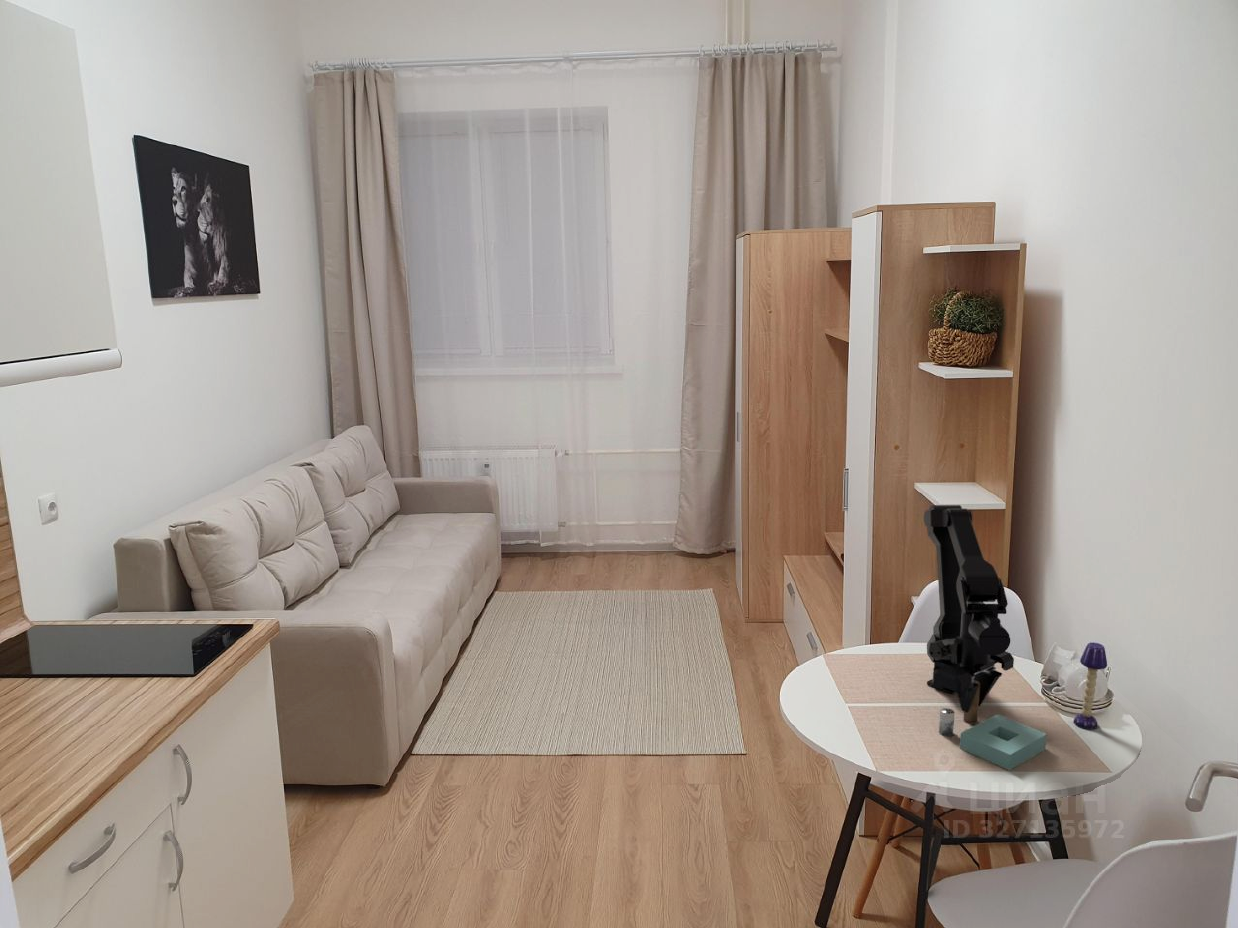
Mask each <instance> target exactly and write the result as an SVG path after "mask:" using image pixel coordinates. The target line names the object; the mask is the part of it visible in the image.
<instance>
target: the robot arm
mask: <svg viewBox="0 0 1238 928" xmlns="http://www.w3.org/2000/svg"><path fill="white" fill-rule="evenodd" d="M972 515H973V514H972V510H971V509H968V508H962V505H961V504H930V506H929V508H928V509H926V510H924V514H923V522H924V526H925V527H926V531H927V532H926V533H927V535H928V537H929V539H930V540H931V542H932V543H933V544H934V546H935V548H936V549H935V552H936V564H937V581H938V596H939V599H938V600H939V611H940V612H939V614H940V615H938V616H939V617H938V618H937V620H936V622H934V623H935V624H933V628H932V629H933V631H932V634H931V636H930V638H929V640H928V642H927V644H926V654H927V656H928V658H929V660H930V661H931V662H932V663H934V664H933V669H932V670H933V672H932V679H930V680H927V681H926V684H927V685H928V686H931V687H933V688H935V689H937V690H941V691H943V692H945V693H948V694H951V695H954V694H956V695H957V699H958V703H959V705H960V708H961V711H962V712H963V713H964V712H966V713H967V712H968V711H969V709H970V707H971V704H972V702H973V699H974V697H975V694H976V692H977V690H978V687H979V685H978V684H976V683H974V680H975V681H978V682H979V683H980V692H979V707H981V706H982V705H983V704H984V701H985V700H986V698H987V696H988V695H989V693H990V692H991V690H992V688H993V687H994V685H996V683H997V681H998V680H999V679H1000V678H1001V677H1002V675H1003V673H1002V672H1000V671H998V670H997V668H996V666H995V665H996V664H1001V666H1000V667H1001V669H1002V670H1003V671H1008V670H1010V669H1014V661H1015V658H1014V657H1013V655H1012V654H1011V653H1010V652H1008V651H1007V650H1008V648H1009V647H1010V644H1011V637H1010V634H1009V631H1008V630H1007V629H1006V628H1005V626H1003V625H1002V624H1001V619H1000V618H999V615H1006V614H1007V606H1008V599H1007V594H1006V590H1005V587H1004V584H1003V582H1002V579H1001V578H1000V577H999V575H998V573H997V571H996V569H995V567H994V565H992V564H991V563H989V562H988V561H987V560H985V558H984V556H983V551H982V550H981V546H980V542H979V540H978V538H977V535H976V532H975V528H974V526H973V525H974V524H973V523H972V522H973V516H972ZM995 602H997V603H995Z"/></svg>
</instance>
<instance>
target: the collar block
mask: <svg viewBox="0 0 1238 928" xmlns="http://www.w3.org/2000/svg"><path fill="white" fill-rule="evenodd" d="M959 735H960V736H959V737H960V738H959V749H961V750H963V751H966V752H968V753H971V754H972V755H974V756H977V757H979V758H981V759H983V760H986V761H987V762H990V763H993V764H994V765H997V766H999V767H1002V768H1003V769H1005V770H1008V771H1010V770H1011V769H1013V768H1015V767H1017V766H1018V765H1020V764H1023V763H1024V762H1026V761H1027V760H1029V759H1031V758H1033V757H1035V756H1036V755H1038V754H1039V753H1042V752H1043V751H1045V750H1046V748H1047V739H1048V738H1047V736H1048V734H1047V733H1045V732H1043V731H1039V730H1038V729H1035V728H1032V727H1030V726H1028V725H1025V724H1022V723H1020V722H1017V721H1015V720H1013V719H1010V718H1007V717H1005V716H1003V715H1001V714H996V715H993V716H991V717H990V718H987V719H986V720H983V721H982V722H979V723H978V724H976V725H974V726H972V727H970V728H968V729H966V730H964V731H962V732H961V733H960V734H959Z"/></svg>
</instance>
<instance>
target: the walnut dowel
mask: <svg viewBox="0 0 1238 928" xmlns="http://www.w3.org/2000/svg"><path fill="white" fill-rule="evenodd" d="M974 683H976V684H978V685H979V687H978V690H977V692H976V694H975V697H974V699H973V702H972V704H971V707H970V709H969V711H968V712H967V713H966V712H963V721H964V722H965V723H966V724H971V725H973V724H977V723H978V720H979V719H978V718H979V707H980V706H979V692H980V683H979V682H978V681H975V680H974Z"/></svg>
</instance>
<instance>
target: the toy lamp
mask: <svg viewBox="0 0 1238 928" xmlns="http://www.w3.org/2000/svg"><path fill="white" fill-rule="evenodd" d="M1079 662H1080V664H1081V665H1082V666H1084V667H1086V668H1087V672H1086V678H1087V679H1086V681H1085V687H1084V692H1085V693H1084V694H1083V702H1082V709H1081V713H1079V714H1077V715H1075V717H1074V719H1073V723H1074V724H1075V726H1077V727H1079V728H1082V729H1085V730H1095V729H1097V728H1098V725H1099V724H1098V721H1097V718H1096V717H1094V716H1093V715H1092V713H1093V712H1092V711H1093V710H1092V709H1093V706H1094V704H1093V702H1094V700H1095V692H1096V689H1095V687H1096V685H1097V678H1098V671H1099V670H1105V669H1107V667H1108V659H1107V653H1106V648H1105V646H1104V645H1103V644H1101V643H1098V642H1094V641H1093V642H1088V643H1087V645H1086V646H1085V648H1084V650H1083V653H1082V655H1081V657H1080V661H1079Z"/></svg>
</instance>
